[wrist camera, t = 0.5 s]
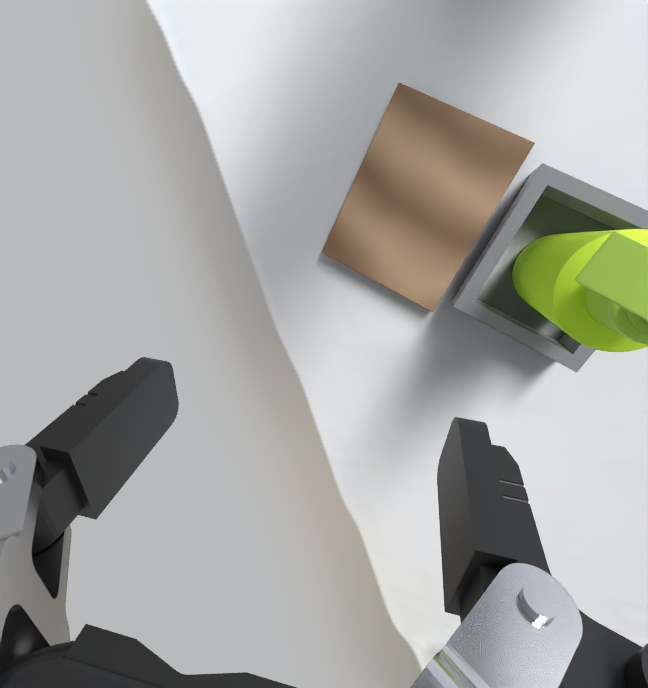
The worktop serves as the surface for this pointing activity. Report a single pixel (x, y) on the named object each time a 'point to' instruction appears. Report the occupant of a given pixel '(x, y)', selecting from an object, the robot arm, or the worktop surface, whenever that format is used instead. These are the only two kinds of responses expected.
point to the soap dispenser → (589, 285)
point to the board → (423, 195)
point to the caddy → (537, 184)
